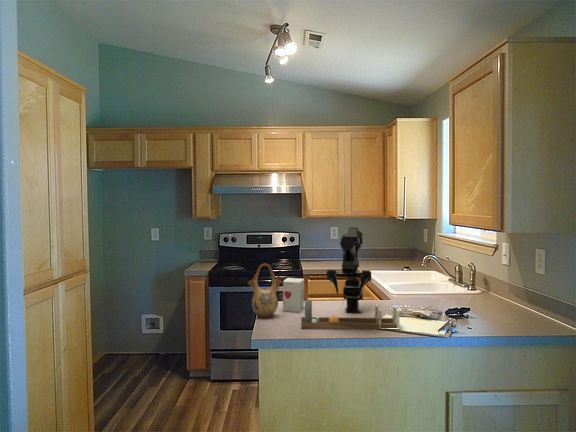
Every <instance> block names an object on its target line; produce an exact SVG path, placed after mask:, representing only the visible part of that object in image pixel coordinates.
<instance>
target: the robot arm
mask: <svg viewBox="0 0 576 432" xmlns="http://www.w3.org/2000/svg"><path fill="white" fill-rule="evenodd" d="M363 235H364V233H363V232H361V231H360V228H359V227H357V226H356V227H355V226H354V227H351V226H350V227H348V230H347V232H345V233H343V234H342V236H341V237H340V242H339V245H340V249H341V252H342V264H341V272H337V270H336V269H327V270H326V278H327V280H328V281H330V282H331V283H333V286H334V288H335V292H336V294H337V295H339V287H338V286H339V285H338V278H347V279H345V282H344V286H343V289H342V290H343V291H342V293H343V300H344V299H345V300H346V307H345V308H344V309H345V312H346V313H349V314H350V313H354V314H355V313H356V314H358V313H359V314H360V313H361V311H360V309H359V301H362V300H363V295H364V293H363V290H364V289H363V288H364V287H365V285H366V284H368V283H369V282H371V281H372V271H371V270H364V269H363V270H361V272H358V268H360V260H359V252H360V250H361V249H362V246H363V244H364V236H363ZM358 278H360V281H359V280H358Z"/></svg>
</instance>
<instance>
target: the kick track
mask: <svg viewBox="0 0 576 432" xmlns="http://www.w3.org/2000/svg"><path fill="white" fill-rule="evenodd" d="M374 306H375V307H374V311H375V312H374V315H375V316H374V317H338V316H336V317H337V318H338V319H339V323H329V318H330V317H331V316H328V317H327V316H325V317H323V316H321V317H320V316H319V322H305V316H301V318H300V320H301V322H300V323H301V324H300V325H301V326H300V327H301V329H302V330H368V331H370V330H373V329H381V328H399V329H400V312H401V311H400V310H399V309H398V307H396V306H395V305H392V311H391V312H392V317H382V308H381V307H380V306H379V304H377V303H376V304H375V305H374ZM312 319H316V316H314V317H313V316H312ZM373 331H374V330H373Z"/></svg>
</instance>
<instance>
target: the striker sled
mask: <svg viewBox="0 0 576 432" xmlns="http://www.w3.org/2000/svg"><path fill="white" fill-rule="evenodd" d="M312 313H313V300H312V299H308V298H307V299H305V300H304V317H305V322H319V317H320V316H319V314H315V317H316V319H312V317H313V314H312Z"/></svg>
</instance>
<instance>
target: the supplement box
mask: <svg viewBox="0 0 576 432" xmlns="http://www.w3.org/2000/svg"><path fill="white" fill-rule="evenodd" d="M304 286H305V279H304V278H295V277H287V278H285V279H284V280H283V281H282V311H283V312H293V313H301V312H302V311H303V309H305V300H304V299H305V295H304V293H305V291H304V290H305V289H304V288H305V287H304Z"/></svg>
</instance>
